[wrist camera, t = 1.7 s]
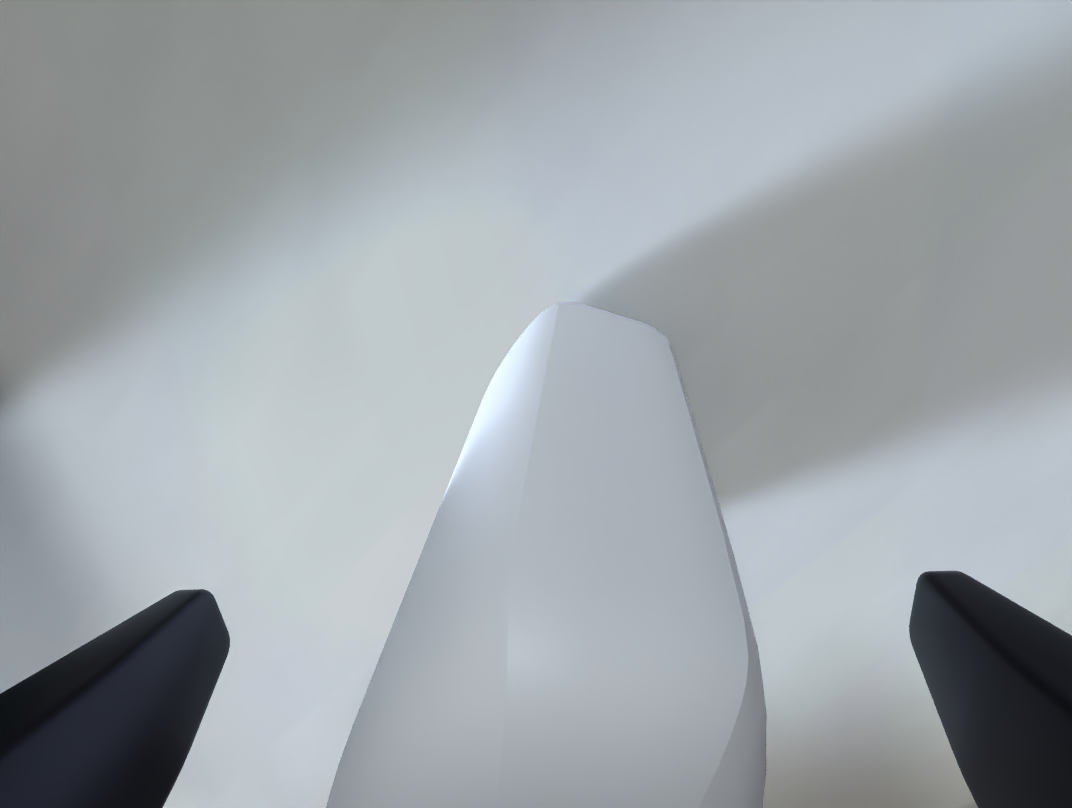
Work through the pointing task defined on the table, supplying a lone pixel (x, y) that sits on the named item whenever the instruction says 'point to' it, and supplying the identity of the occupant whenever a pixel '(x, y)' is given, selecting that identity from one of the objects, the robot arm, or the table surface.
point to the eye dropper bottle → (570, 602)
